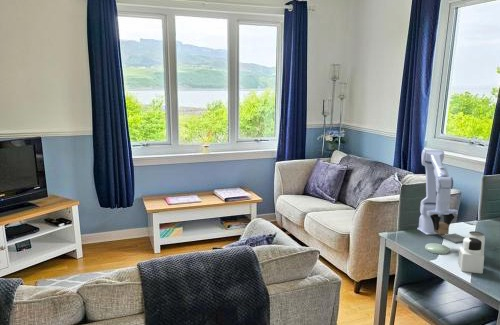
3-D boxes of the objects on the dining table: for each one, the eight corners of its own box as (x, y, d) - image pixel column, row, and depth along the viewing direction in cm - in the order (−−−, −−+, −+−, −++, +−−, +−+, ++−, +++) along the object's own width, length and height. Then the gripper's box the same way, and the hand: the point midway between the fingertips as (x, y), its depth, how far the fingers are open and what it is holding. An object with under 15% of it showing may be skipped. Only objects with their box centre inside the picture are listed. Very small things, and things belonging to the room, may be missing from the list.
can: (462, 256, 167) (464, 231, 165) (476, 255, 168) (478, 230, 165) (472, 262, 161) (474, 236, 159) (486, 262, 161) (489, 235, 159)
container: (478, 265, 158) (481, 236, 156) (482, 274, 151) (485, 243, 148) (457, 263, 160) (460, 235, 158) (461, 271, 153) (464, 241, 151)
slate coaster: (441, 236, 190) (441, 235, 190) (455, 234, 193) (455, 233, 193) (455, 243, 182) (455, 241, 182) (469, 241, 184) (470, 239, 184)
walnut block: (433, 231, 180) (434, 222, 179) (442, 230, 180) (443, 221, 179) (439, 234, 175) (440, 225, 174) (448, 234, 176) (449, 224, 175)
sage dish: (420, 246, 179) (420, 243, 179) (440, 245, 180) (440, 242, 180) (433, 254, 169) (433, 252, 169) (453, 253, 170) (453, 251, 170)
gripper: (433, 204, 170) (431, 232, 173) (463, 203, 172) (460, 231, 174) (424, 200, 177) (423, 227, 180) (453, 199, 179) (450, 226, 181)
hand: (440, 229), depth 177 cm, fingers closed on walnut block, 4 cm apart
